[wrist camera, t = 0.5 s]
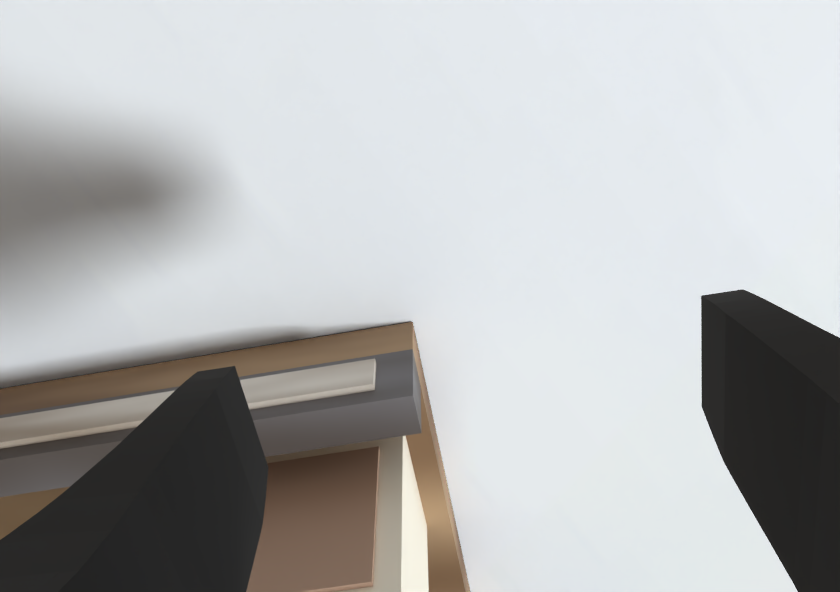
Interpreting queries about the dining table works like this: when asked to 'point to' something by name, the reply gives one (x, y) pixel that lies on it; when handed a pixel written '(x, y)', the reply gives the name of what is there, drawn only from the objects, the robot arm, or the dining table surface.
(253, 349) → the shelf board
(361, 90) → the dining table surface
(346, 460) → the cream carton
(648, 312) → the dining table surface
